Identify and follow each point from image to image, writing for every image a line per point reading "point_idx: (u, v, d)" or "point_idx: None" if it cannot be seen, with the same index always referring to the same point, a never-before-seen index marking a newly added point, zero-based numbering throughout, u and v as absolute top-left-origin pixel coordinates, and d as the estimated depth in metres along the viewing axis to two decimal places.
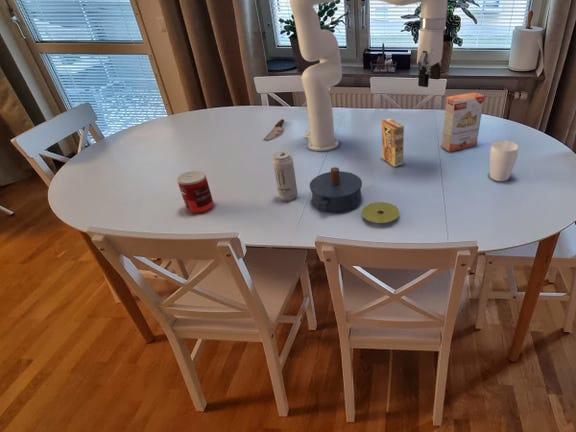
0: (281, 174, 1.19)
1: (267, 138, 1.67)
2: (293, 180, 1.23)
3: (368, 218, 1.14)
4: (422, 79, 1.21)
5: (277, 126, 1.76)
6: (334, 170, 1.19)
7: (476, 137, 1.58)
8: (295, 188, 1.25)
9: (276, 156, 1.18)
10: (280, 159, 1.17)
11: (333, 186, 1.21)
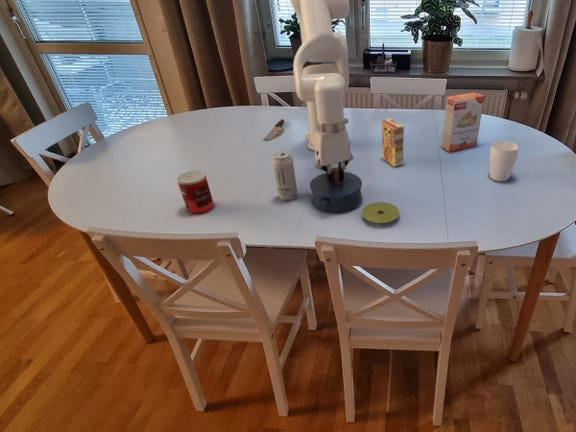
0: (281, 174, 1.19)
1: (267, 138, 1.67)
2: (293, 180, 1.23)
3: (368, 218, 1.14)
4: (327, 177, 1.20)
5: (277, 126, 1.76)
6: (334, 170, 1.19)
7: (476, 137, 1.58)
8: (295, 188, 1.25)
9: (276, 156, 1.18)
10: (280, 158, 1.17)
11: (333, 186, 1.21)
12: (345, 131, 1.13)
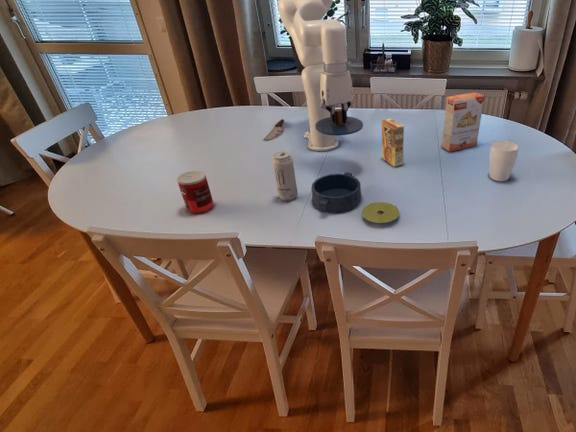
0: (281, 174, 1.19)
1: (267, 138, 1.67)
2: (293, 180, 1.23)
3: (368, 218, 1.14)
4: (331, 117, 1.31)
5: (277, 126, 1.76)
6: (338, 111, 1.31)
7: (476, 137, 1.58)
8: (295, 188, 1.25)
9: (276, 156, 1.18)
10: (280, 159, 1.17)
11: (337, 126, 1.32)
12: (348, 73, 1.24)
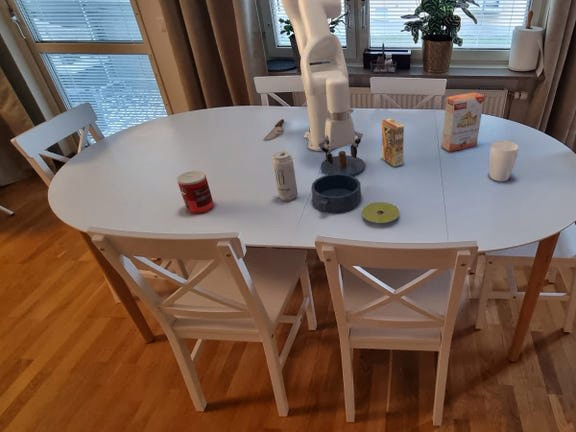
0: (281, 174, 1.19)
1: (267, 138, 1.66)
2: (293, 180, 1.23)
3: (368, 218, 1.14)
4: (327, 157, 1.39)
5: (277, 126, 1.76)
6: (341, 153, 1.41)
7: (476, 137, 1.58)
8: (295, 188, 1.25)
9: (276, 156, 1.18)
10: (280, 158, 1.17)
11: (340, 167, 1.42)
12: (350, 119, 1.35)
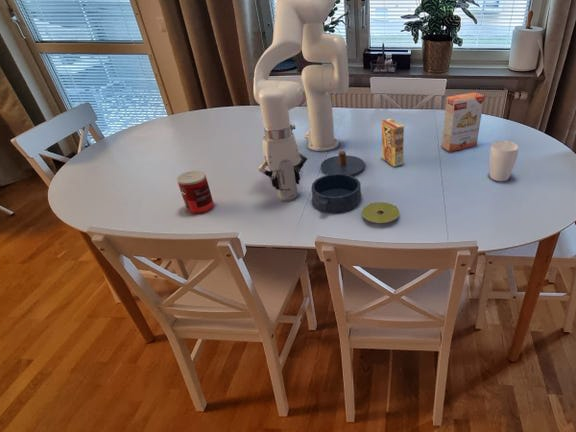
0: (281, 174, 1.19)
1: None
2: (293, 180, 1.23)
3: (368, 218, 1.14)
4: (272, 182, 1.22)
5: None
6: (341, 153, 1.41)
7: (476, 137, 1.58)
8: (295, 188, 1.25)
9: None
10: None
11: (340, 167, 1.42)
12: (292, 137, 1.16)
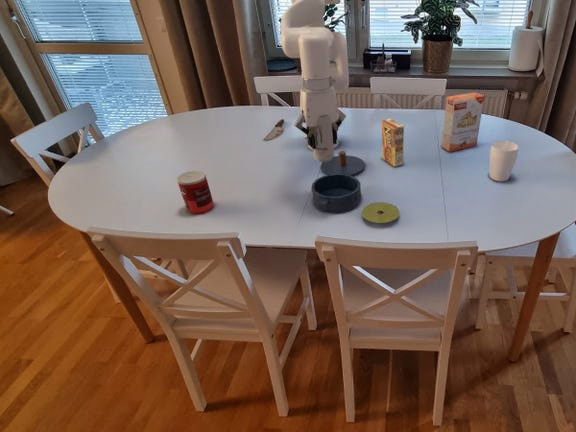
0: (319, 131, 1.10)
1: (267, 138, 1.67)
2: (331, 139, 1.13)
3: (368, 218, 1.14)
4: (308, 140, 1.12)
5: (277, 126, 1.76)
6: (341, 153, 1.41)
7: (476, 137, 1.58)
8: (332, 148, 1.15)
9: None
10: None
11: (340, 167, 1.42)
12: (332, 89, 1.06)
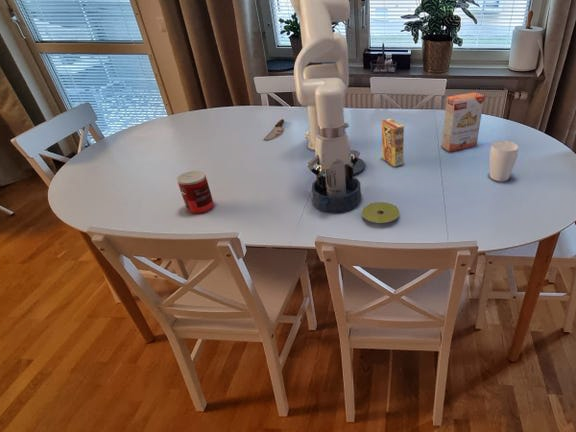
0: (333, 175, 1.18)
1: (267, 138, 1.67)
2: (344, 181, 1.21)
3: (368, 218, 1.14)
4: (317, 180, 1.18)
5: (277, 126, 1.76)
6: None
7: (476, 137, 1.58)
8: (345, 189, 1.23)
9: None
10: None
11: None
12: (345, 135, 1.14)
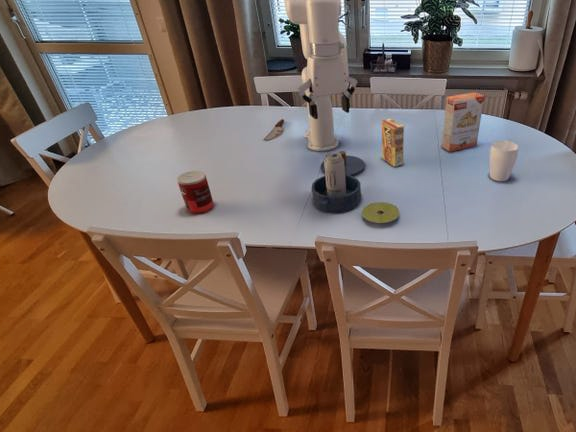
0: (333, 175, 1.18)
1: (267, 138, 1.67)
2: (344, 181, 1.21)
3: (368, 218, 1.14)
4: (310, 109, 1.06)
5: (277, 126, 1.76)
6: (341, 153, 1.41)
7: (476, 137, 1.58)
8: (345, 189, 1.23)
9: (328, 157, 1.17)
10: (333, 160, 1.15)
11: None
12: (341, 56, 1.01)
